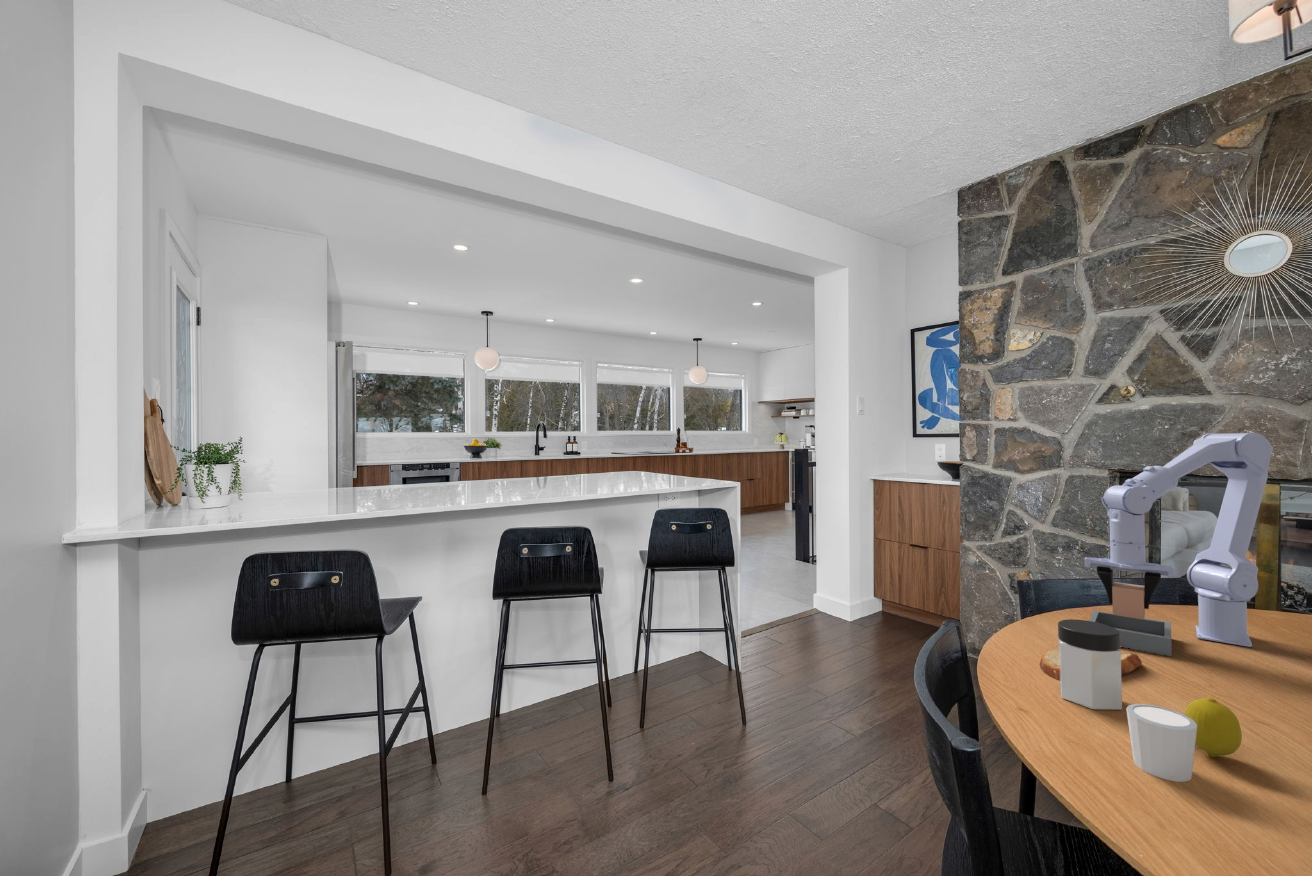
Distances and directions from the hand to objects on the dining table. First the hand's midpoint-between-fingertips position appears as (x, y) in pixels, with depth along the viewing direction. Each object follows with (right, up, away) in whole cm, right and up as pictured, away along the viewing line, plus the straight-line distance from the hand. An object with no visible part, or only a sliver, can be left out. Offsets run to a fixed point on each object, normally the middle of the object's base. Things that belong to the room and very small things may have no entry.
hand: (1128, 605), depth 117 cm
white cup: (-35, -8, -45) cm, 57 cm away
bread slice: (-19, -8, -14) cm, 25 cm away
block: (0, -2, 0) cm, 2 cm away
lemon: (-26, -8, -42) cm, 50 cm away
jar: (-29, -8, -26) cm, 39 cm away
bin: (0, -7, 0) cm, 7 cm away
